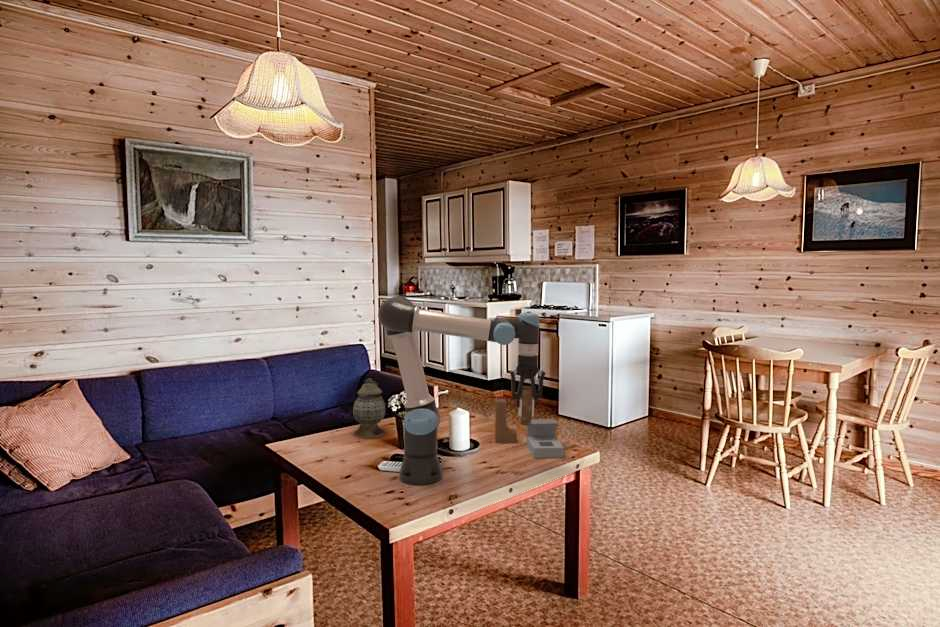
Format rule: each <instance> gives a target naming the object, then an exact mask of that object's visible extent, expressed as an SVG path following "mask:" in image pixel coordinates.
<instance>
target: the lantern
mask: <svg viewBox="0 0 940 627" xmlns="http://www.w3.org/2000/svg"><path fill="white" fill-rule="evenodd" d="M378 384H379V383H377V382H376V381H374V380H373V379H372V378H370V377H369V378H366V380H365V381H364V382H363V384H362V386H361V388H359V390H358V391H357V392H356V394H357V398H356V399H355V401H354V404H353V407H352V412H353V413H352V415H353V417H354V419H355V421H356V422H357V423H358V424H360V426H359V427H358V428H357V429H356V430H355V431H354V432H353V436H354V437H355V438H358V439H368V440H369V439H375V438H376V439H377V438H380V437H382V436H383V435H384V434H385V431H384V429H383V428H381V427H380V426H379V424H380V423H381V421H382V420H383V419H384V417H385V415H386V405H385V401H384V399H383V396H382V394H383V390H382V389H381V388H380V387H378Z"/></svg>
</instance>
